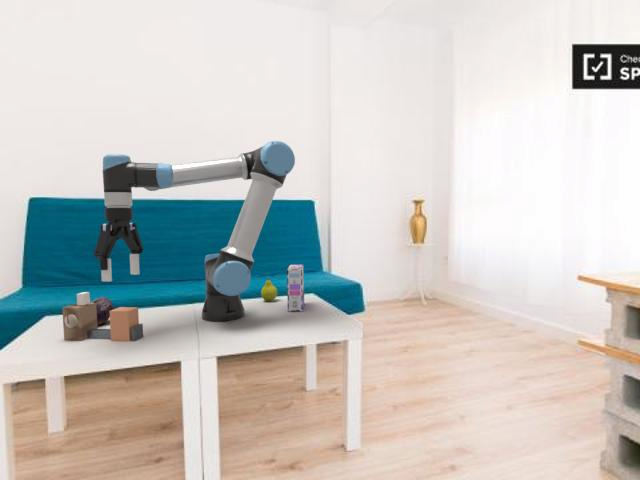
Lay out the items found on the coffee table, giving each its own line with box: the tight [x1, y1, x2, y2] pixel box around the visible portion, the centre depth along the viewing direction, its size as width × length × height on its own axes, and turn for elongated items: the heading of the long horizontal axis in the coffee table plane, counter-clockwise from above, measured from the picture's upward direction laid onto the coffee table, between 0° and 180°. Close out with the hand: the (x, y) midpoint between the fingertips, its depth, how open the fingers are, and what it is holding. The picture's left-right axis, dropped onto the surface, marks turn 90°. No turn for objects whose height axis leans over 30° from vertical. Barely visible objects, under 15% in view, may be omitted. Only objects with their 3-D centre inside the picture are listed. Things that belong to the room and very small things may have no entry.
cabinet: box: [62, 302, 99, 342], centre depth 128 cm, size 6×8×10 cm
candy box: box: [286, 264, 305, 312], centre depth 162 cm, size 14×6×16 cm, turn 179°
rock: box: [90, 296, 115, 327], centre depth 144 cm, size 12×9×10 cm
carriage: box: [109, 306, 140, 342], centre depth 126 cm, size 6×5×9 cm
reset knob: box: [76, 291, 91, 305], centre depth 128 cm, size 2×3×4 cm, turn 171°
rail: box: [87, 323, 144, 342], centre depth 127 cm, size 18×4×4 cm, turn 81°
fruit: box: [260, 273, 278, 302], centre depth 176 cm, size 7×7×12 cm
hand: (121, 277), depth 125 cm, fingers open, 13 cm apart
